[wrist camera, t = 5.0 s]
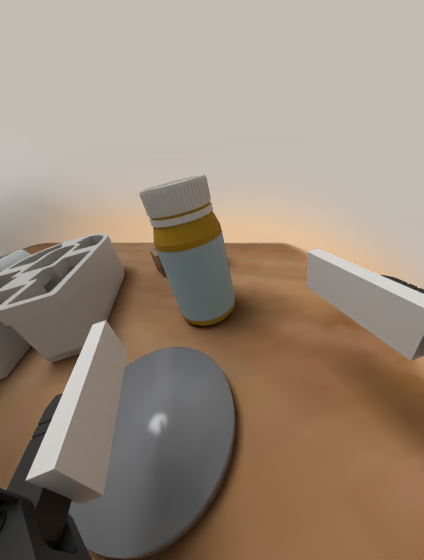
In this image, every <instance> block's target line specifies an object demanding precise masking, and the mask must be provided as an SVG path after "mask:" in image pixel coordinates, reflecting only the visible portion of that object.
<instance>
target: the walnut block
mask: <svg viewBox="0 0 424 560" xmlns="http://www.w3.org/2000/svg"><path fill="white" fill-rule="evenodd" d="M150 253H151V255H152V258H153V260H154V262H155V265H156V267H157V270H158V271H159V272H160V273H161V274H162V275H163V277H166V273H165V271H164V268H163V266H162V263H161V261H160V258H159V256H158V253H157V251H156V248H155V249H152V250H150Z"/></svg>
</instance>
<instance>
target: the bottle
mask: <svg viewBox="0 0 424 560" xmlns="http://www.w3.org/2000/svg"><path fill="white" fill-rule="evenodd" d="M140 197H141V200H142V202H143V205H144V207H145V210H146V212H147V215H148V216H149V217H150V222H151V225H152V226H153V229H154V245H155V247H156V251H157V253H158V256H159V258H160V261H161V263H162V266H163V268H164V271H165V273H166V276H167V278H168V281H169V283H170V286H171V288H172V291H173V293H174V296H175V298H176V301H177V303H178V306H179V308H180V311H181V313H182V315H183V317H184V319H185V320H186V321H188V322H190V323H192V324H195V325H200V326H208V325H213V324H216V323H219V322H221V321H222V320H224V319H225V318H226V317H227V316H228V315H229V314H230V313H231V312H232V311H233V309H234V307H235V295H234V290H233V285H232V280H231V275H230V270H229V265H228V260H227V255H226V250H225V245H224V240H223V235H222V230H221V226H220V223H219V221H218V220H217V218H216V216H215V215H214V213H213V211H212V210H213V208H212V204H211V202H210V193H209V188H208V184H207V179H206V177H205V174H204V175H198V176H193V177H189V178H185V179H181V180H177V181H173V182H169V183H166V184H162V185H158V186H155V187H151V188H148V189H145V190H142V191H140Z"/></svg>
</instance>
